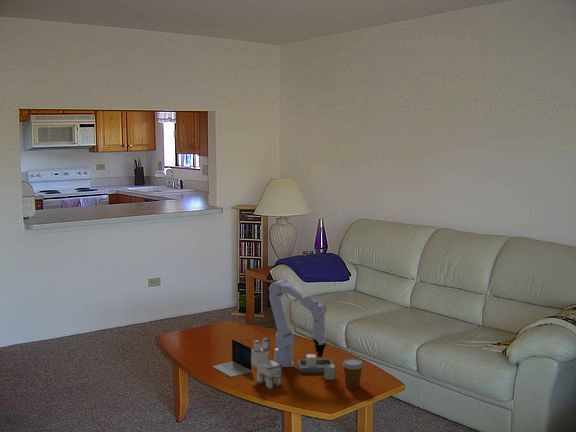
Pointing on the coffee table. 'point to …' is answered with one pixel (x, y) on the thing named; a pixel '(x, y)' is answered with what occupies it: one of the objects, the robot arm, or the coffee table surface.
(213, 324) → the coffee table surface
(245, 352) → the laptop
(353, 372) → the disposable coffee cup
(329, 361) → the grey tray
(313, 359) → the cream block
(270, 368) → the toy llama
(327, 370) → the sage block
